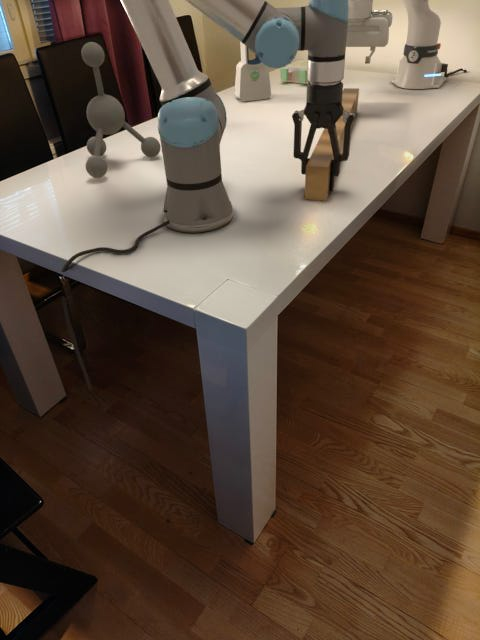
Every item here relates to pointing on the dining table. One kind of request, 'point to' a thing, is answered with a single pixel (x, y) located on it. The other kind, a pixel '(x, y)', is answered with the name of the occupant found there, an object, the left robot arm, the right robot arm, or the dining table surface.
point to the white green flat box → (295, 72)
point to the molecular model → (107, 117)
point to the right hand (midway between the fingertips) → (351, 63)
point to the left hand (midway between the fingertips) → (319, 187)
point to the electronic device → (251, 78)
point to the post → (327, 152)
